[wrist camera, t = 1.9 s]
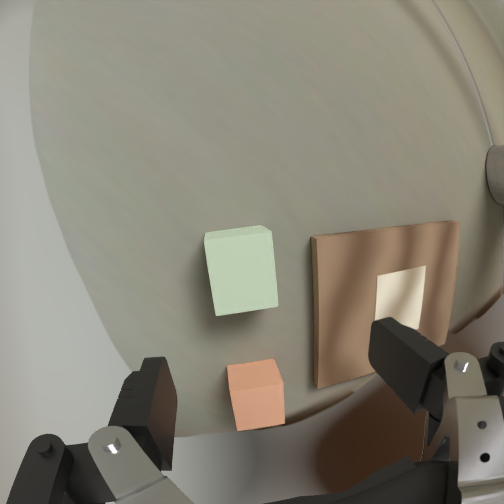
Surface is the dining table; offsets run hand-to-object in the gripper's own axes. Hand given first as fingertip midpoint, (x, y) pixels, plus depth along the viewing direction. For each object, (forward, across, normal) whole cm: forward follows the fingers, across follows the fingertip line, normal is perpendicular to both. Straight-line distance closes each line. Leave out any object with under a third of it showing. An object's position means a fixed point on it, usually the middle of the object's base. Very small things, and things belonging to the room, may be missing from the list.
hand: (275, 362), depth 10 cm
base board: (+16, -17, +7) cm, 24 cm away
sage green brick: (+16, 0, 0) cm, 16 cm away
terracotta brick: (+16, 0, +14) cm, 21 cm away
